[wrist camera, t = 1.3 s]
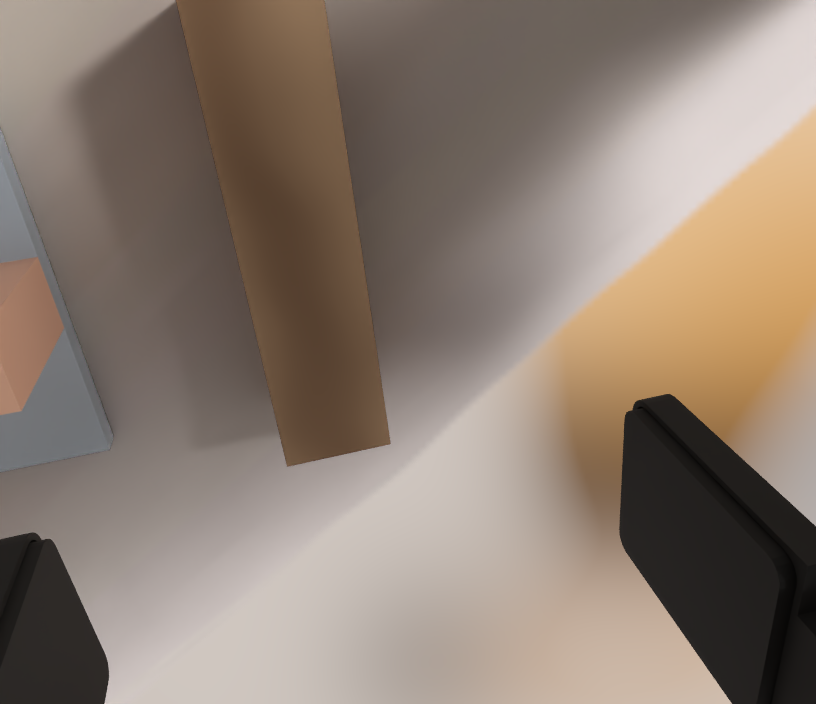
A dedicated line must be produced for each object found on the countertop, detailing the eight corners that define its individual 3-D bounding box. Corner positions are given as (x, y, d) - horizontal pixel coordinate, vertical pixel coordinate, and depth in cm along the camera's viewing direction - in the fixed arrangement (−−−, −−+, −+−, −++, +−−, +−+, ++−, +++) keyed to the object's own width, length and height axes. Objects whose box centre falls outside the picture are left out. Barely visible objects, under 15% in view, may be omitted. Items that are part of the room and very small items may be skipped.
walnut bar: (305, -22, 24) (320, -25, 20) (369, 381, 32) (390, 443, 27) (185, -7, 23) (174, -6, 19) (280, 400, 31) (287, 466, 27)
